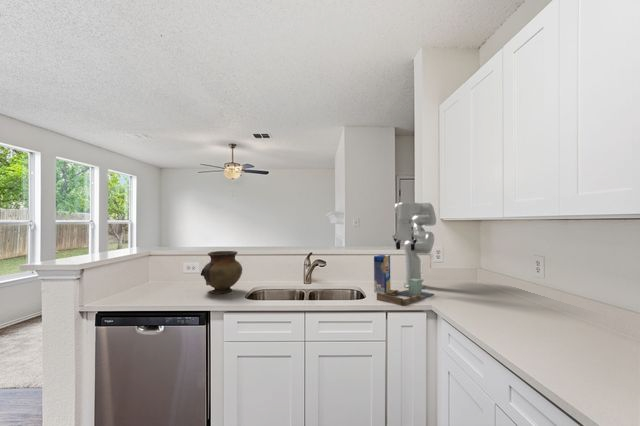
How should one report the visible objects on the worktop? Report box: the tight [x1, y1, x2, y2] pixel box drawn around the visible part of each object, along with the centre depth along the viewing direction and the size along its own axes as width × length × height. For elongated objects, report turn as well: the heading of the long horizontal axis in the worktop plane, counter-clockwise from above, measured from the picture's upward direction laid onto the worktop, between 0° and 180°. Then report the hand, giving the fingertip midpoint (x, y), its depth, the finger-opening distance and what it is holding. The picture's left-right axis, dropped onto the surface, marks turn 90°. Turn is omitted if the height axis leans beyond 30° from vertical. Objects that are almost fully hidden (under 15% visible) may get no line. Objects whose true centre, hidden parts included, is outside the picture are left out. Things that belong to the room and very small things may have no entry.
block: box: [408, 278, 423, 295], centre depth 181 cm, size 6×5×8 cm
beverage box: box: [373, 254, 391, 294], centre depth 190 cm, size 7×11×22 cm, turn 150°
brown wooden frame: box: [376, 289, 422, 306], centre depth 169 cm, size 19×16×4 cm
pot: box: [200, 250, 243, 295], centre depth 189 cm, size 25×24×25 cm
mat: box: [398, 289, 435, 300], centre depth 181 cm, size 14×16×1 cm
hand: (405, 249), depth 188 cm, fingers open, 9 cm apart
